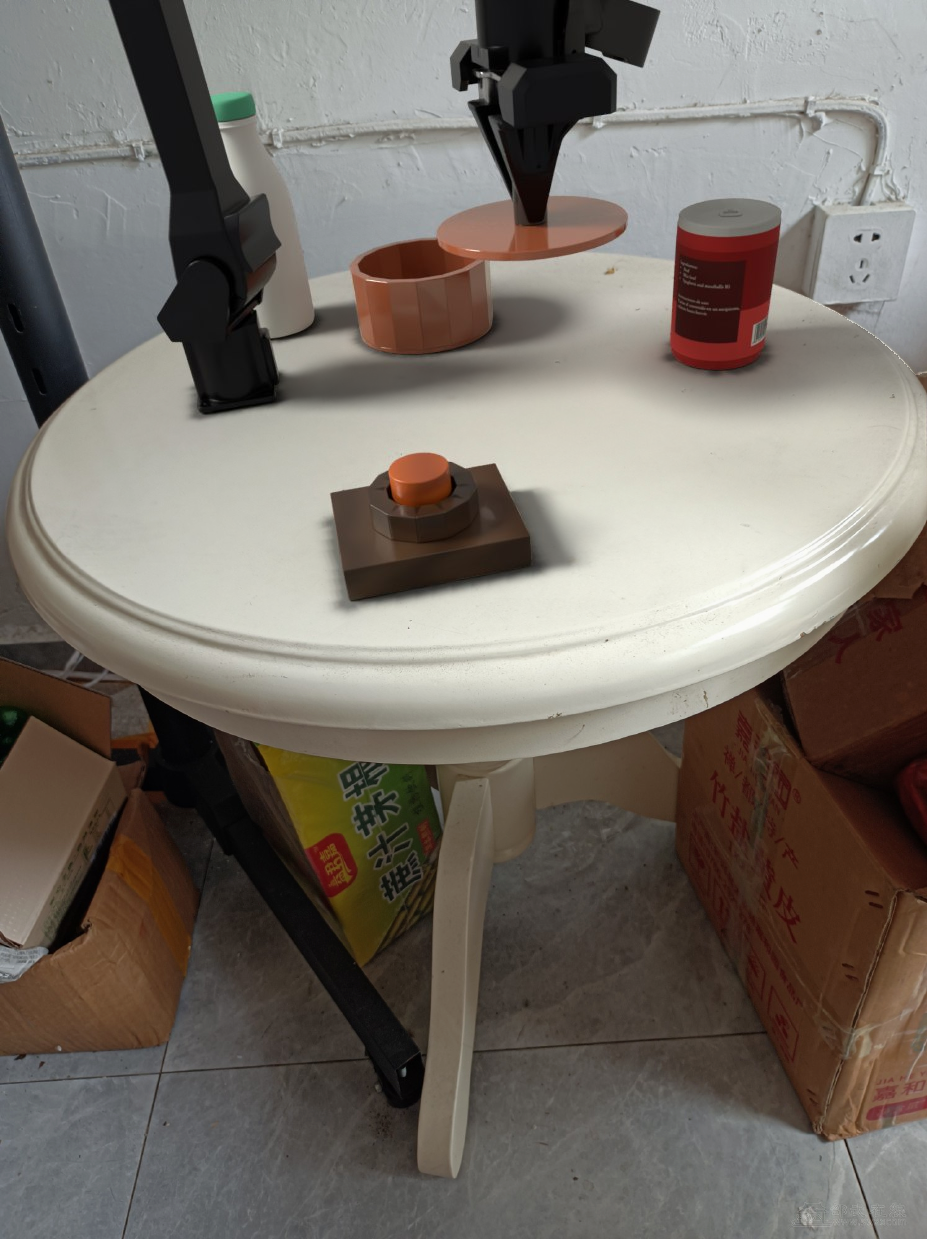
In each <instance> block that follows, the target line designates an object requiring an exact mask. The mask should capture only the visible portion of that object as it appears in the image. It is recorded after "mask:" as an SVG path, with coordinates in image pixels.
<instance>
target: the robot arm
mask: <svg viewBox="0 0 927 1239" xmlns="http://www.w3.org/2000/svg"><path fill="white" fill-rule="evenodd" d="M107 3H108V5H109V8H110V11H111V14H112V17H113V20H114V23H115V26H116V30H117V32H118V35H119V38H120V41H121V44H122V48H123V51H124V53H125V56H126V60H127V63H128V66H129V69H130V72H131V75H132V78H133V81H134V85H135V87H136V90H137V93H138V96H139V99H140V100H139V101H140V103H141V106H142V109H143V112H144V114H145V118H146V121H147V125H148V127H149V130H150V133H151V136H152V139H153V143H154V146H155V149H156V151H157V155H158V158H159V161H160V164H161V168H162V170H163V173H164V176H165V179H166V182H167V184H168V190H169V206H168V208H169V209H168V210H169V211H168V231H167V232H168V236H167V238H168V245H169V249H170V251H169V252H170V256H171V260H172V267H173V271H174V272H173V273H174V277H175V281H176V284H175V286H174V288H173V289H172V291H171V293H170V294H169V296H168V298H167V299H166V301H165V303H164V304H163V306H162V307H161V308H160V311H159V312H158V314H157V315H156V321H157V323H158V324H159V325H160V327H161V329H162V330H163V332H164V333H165V334H166V336H167V338H168V339H169V341H170V342H171V343H181V345H182V348H183V352H184V355H185V358H186V361H187V365H188V368H189V371H190V375H191V379H192V381H193V384H194V387H195V388H194V389H195V391H196V394H197V400H196V402H197V403H196V408H197V411H198V413H201V414H202V413H208V412H214V411H219V410H226V409H233V408H239V407H246V406H250V405H257V404H263V403H268V402H273V401H275V400H276V399H277V393H276V386H278V385H279V384H280V376H279V375H280V374H279V368H278V364H277V361H276V360H277V359H276V356H275V351H274V348H273V343H272V338H270V334H269V330H268V329H267V328H266V327H264V328H261V327H260V323H259V318H258V314H257V310H253V309H254V308H255V307H256V306H257V305H260V304H261V303H262V301H263V292H264V286H265V285H266V284H267V283H268V282H269V280H270V279H271V277H272V275H273V274H274V271H275V270H276V263H277V259H276V250H278V249H279V248H280V247H281V246H282V244H281V242H280V240H279V239H278V237H277V236H276V234H275V232H274V229H273V227H272V223H271V218H270V208H269V202H268V199H267V196H266V194H264V193H262V194H259V195H256V196H253V197H249V195H248V194H247V193H246V191H245V190H244V189H243V187H242V186H241V185H240V183H239V182H238V181H237V179H236V178H235V176H234V174H233V172H232V170H231V167H230V164H229V160H228V157H227V153H226V150H225V146H224V143H223V139H222V136H221V132H220V128H219V125H218V121H217V118H216V114H215V111H214V107H213V104H212V100H211V97H210V96H211V94H210V89H209V85H208V83H207V80H206V76H205V71H204V68H203V65H202V62H201V58H200V54H199V51H198V47H197V44H196V41H195V36H194V34H193V30H192V26H191V23H190V19H189V16H188V12H187V8H186V5H185V2H184V0H107ZM474 11H475V25H476V26H475V27H476V38H472V39H466V40H460V41H459V43H458V44H457V46H456V47H455V49H454V50H453V52H452V54H451V55H450V56H449V66H450V76H451V87H452V89H454V90H456V91H457V92H459V93H461V92H468V91H469V86H470V85H471V86H472V85H477V89H478V91H477V92H478V98H476V99H471V100H468V101H466V103H467V107H468V110H469V111H470V112H471V115H472V116H473V119H474V121H475V123H476V125H477V127H478V129H479V132H480V134H481V136H482V138H483V140H484V142H485V144H486V147H487V148H488V151H489V153H490V155H491V157H492V160H493V161H494V163H495V166H496V168H497V171H498V172H499V175H500V177H501V179H502V182H503V184H504V186H505V188H506V190H507V194H508V195H509V198H510V199H512V202H513V192H512V183H513V185H514V188H515V191H516V194H517V196H518V199H519V202H520V204H521V207H522V209H523V212H524V214H525V217H526V219H527V221H528V222H529V223H536V222H541V221H543V219H544V216H545V212H546V207H547V203H548V198H549V196H550V193H551V189H552V184H553V180H554V175H555V170H556V168H557V167H556V166H557V162H558V158H559V154H560V151H561V146H562V143H563V141H564V138H565V137H566V136H567V135H568V134H569V132H570V131H571V130H572V129H573V128H574V127H575V125H576V124H578V122H579V121H582V120H584V119H587V118H594V117H600V116H607V115H611V114H612V115H613V114H614V113H615V112H617V107H618V73H617V72H616V71H615V70H614V69H613V68H612V67H611V66H610V64H609V63H607V61H606V60H605V59H604V58H608V59H611V60H614V61H618V62H621V63H623V64H628V65H631V66H635V67H638V68H641V69H644V67H645V64H646V60H647V57H648V53H649V50H650V47H651V44H652V41H653V37H654V34H655V31H656V28H657V25H658V21H659V19H660V15H661V12H662V11H661V10H660V9H658V8H655V7H652V6H650V5H646V4H644V3H640V2H637V1H634V0H474ZM586 48H587V49H591V50H593V51H597V52H600V53H601V55H602V56H603V57H604V58H603V57H602V56H598V55H594V54H591V53H588V52H586Z"/></svg>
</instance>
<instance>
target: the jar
mask: <svg viewBox="0 0 927 1239" xmlns="http://www.w3.org/2000/svg"><path fill="white" fill-rule="evenodd" d="M348 268H349V269H348V270H349V274H350V281H351V286H352V287H351V288H352V293H353V299H354V305H355V311H356V316H357V323H358V328H359V332H360V336H361V340H362V342H363V343H365V345H367V346H368V347H370V348H372V349H374V350H377V351H380V352H384V353H389V354H398V355H422V354H423V355H424V354H433V353H440V352H444V351H450V350H454V349H456V348H457V349H458V348H460V347H463V346H466V345H469V344H471V343H473V342H476V341H477V340H479V339H481V338H483V337H484V336H485V335H486V334H487V333H488V332H489V331H490V330H491V328H492V326H493V319H494V306H493V292H492V291H493V290H492V276H491V261H489V260H478V259H471V258H466V257H461V256H458V255H454V254H452V253H449V252H447V251H445V250H444V249H442V248H441V247H440V246H439V244H438V242H437V236H436V237H419V238H412V239H405V240H399V241H394V242H390V243H386V244H384V245H380V246H375V247H373V248H371V249H368V250H367V251H365V252H362V253H361V254H358V255H356V256H355V258H354V259H353V260H352V261H351V262H350V263H349V264H348Z"/></svg>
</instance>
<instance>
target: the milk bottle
mask: <svg viewBox="0 0 927 1239" xmlns="http://www.w3.org/2000/svg"><path fill="white" fill-rule="evenodd" d="M210 97H211V100H212V104H213V107H214V111H215V114H216V118H217V121H218V125H219V128H220V132H221V136H222V139H223V143H224V146H225V150H226V153H227V157H228V160H229V164H230V167H231V170H232V172H233V174H234V176H235V178H236V179H237V181H238V182H239V183H240V185H241V186H242V187H243V189H244V190H245V191H246V193H247V194H248V195H249V197H253V196H256V195H259V194H262V193H264V194H266V196H267V199H268V202H269V208H270V218H271V223H272V227H273V229H274V232H275V234H276V236H277V237H278V239H279V240H280V242H281V244H282V246H281V247H280V248H279V249H278V250H276V259H277V263H276V270H275V271H274V274H273V275H272V277H271V279H270V280H269V282H268V283H267V284H266V285H265V286H264V292H263V301H262V303H261V304H260V305H257V306H256V307H255V308H254V309H253V310H257V314H258V318H259V323H260V327H261V328H264V327H266V328H267V329H268V330H269V334H270V338H271V339H277V338H282V337H287V336H291V335H295V334H297V333H300V332H301V331H304V330H306V329H308V328H309V327H310V326H311V325H312V324H313V322H314V320H315V315H316V314H315V309H314V303H313V297H312V292H311V288H310V282H309V277H308V272H307V268H306V262H305V257H304V252H303V248H302V243H301V236H300V234H299V229H298V223H297V218H296V214H295V210H294V206H293V201H292V198H291V195H290V192H289V188H288V186H287V184H286V181H285V178H284V177H283V175H282V173H281V171H280V169H279V168H278V166H277V165H276V163H275V162H274V161H273V159H272V158H271V156H270V154H269V153H268V152H269V151H267V148H266V147H265V145H264V143H263V141H262V139H261V136H260V133H259V132H258V127H257V122H258V121H259V119H258V117H257V109H256V108H257V107H256V104H255V100H254V96H253V94H252V93H250V92H247V91H232V92H224V93H218V94H217V93H216V94H212V95H210Z"/></svg>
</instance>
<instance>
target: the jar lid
mask: <svg viewBox="0 0 927 1239" xmlns="http://www.w3.org/2000/svg"><path fill="white" fill-rule="evenodd" d="M512 192H513V202H512V199H511V198H510V199H504V200H499V201H494V202H489V203H484V204H481V205H478V206H474V207H472V208H467V209H465V210H462V211H460V212H458V213H455V214H454V215H451V216H449V217H448V218H446V219H445V220H443V221H442V222H441V223H440V224H439V225H438V227H437V229H436V233H435V234H436V235H435V236H436V237H437V242H438V244H439V246H440V247H441V248H442V249H444V250H445V251H447V252H449V253H452V254H454V255H458V256H461V257H466V258H471V259H478V260H489V261H490V262H527V261H528V262H529V261H540V260H541V261H542V260H547V259H555V258H559V257H561V258H562V257H565V256H570V255H575V254H579V253H583V252H588V251H589V250H593V249H597V248H599V247H601V246H605V245H606V244H608V243H612V242H613V241H615V240H616V239H617V238H619V237H621V236H622V235H623V234H624V233H625V232H626V230H627V228H628V226H629V215H628V212H627V210H626V209H625V208H624V207H622V206H621V205H619V204H617V203H615V202H612V201H609V200H605V199H602V198H601V199H600V198H596V197H588V196H580V195H579V196H578V195H577V196H576V195H549V198H548V203H547V207H546V212H545V216H544V219H543V221H541V222H536V223H529V222H528V221H527V219H526V217H525V214H524V212H523V209H522V207H521V204H520V202H519V199H518V196H517V194H516V191H515V188H514V185H513V183H512Z"/></svg>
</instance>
